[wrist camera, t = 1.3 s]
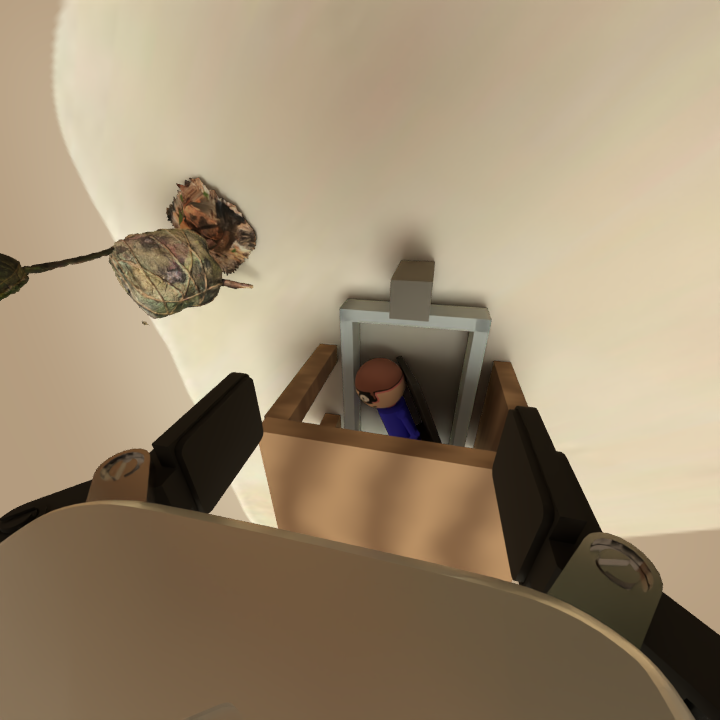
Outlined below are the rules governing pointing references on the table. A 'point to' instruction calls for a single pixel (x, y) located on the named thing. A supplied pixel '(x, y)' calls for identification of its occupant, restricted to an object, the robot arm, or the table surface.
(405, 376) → the character figurine
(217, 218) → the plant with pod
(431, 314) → the sled
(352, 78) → the table surface
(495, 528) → the small wooden table
